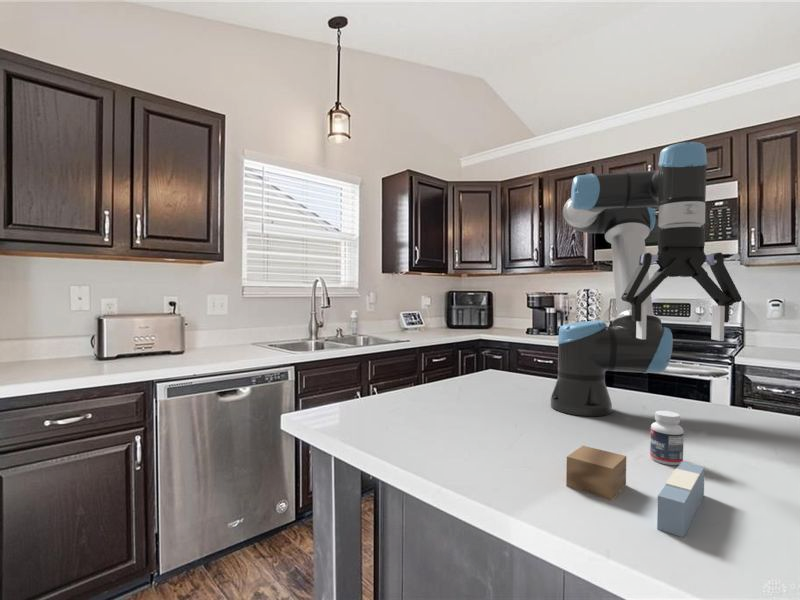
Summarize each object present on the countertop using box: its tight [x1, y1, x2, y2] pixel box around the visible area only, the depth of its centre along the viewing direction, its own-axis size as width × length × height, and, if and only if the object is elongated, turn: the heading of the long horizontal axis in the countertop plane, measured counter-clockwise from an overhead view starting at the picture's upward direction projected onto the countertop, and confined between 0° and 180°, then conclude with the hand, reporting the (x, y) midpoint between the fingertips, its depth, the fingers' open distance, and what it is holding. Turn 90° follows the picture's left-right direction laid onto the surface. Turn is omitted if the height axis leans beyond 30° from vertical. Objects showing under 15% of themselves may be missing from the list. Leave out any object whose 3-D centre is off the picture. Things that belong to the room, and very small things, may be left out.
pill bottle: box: [649, 410, 685, 466], centre depth 82 cm, size 5×5×9 cm
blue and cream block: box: [656, 460, 705, 538], centre depth 64 cm, size 3×16×5 cm, turn 138°
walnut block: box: [565, 445, 627, 501], centre depth 72 cm, size 7×7×5 cm
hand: (678, 339), depth 84 cm, fingers open, 13 cm apart
